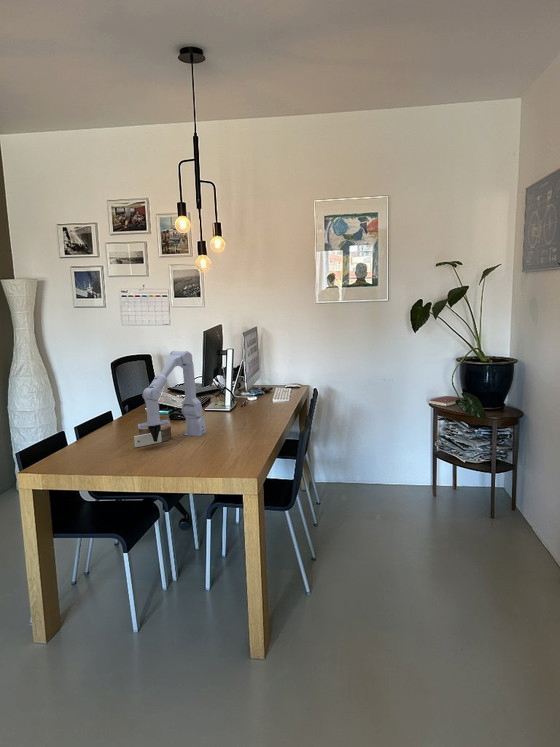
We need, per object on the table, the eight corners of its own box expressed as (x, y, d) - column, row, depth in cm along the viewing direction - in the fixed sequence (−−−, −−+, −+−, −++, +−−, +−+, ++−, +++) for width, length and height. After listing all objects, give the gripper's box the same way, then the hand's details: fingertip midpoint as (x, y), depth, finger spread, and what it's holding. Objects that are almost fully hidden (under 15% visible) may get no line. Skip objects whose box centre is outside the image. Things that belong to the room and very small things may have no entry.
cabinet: (172, 437, 261) (171, 426, 260) (164, 441, 255) (163, 429, 254) (147, 436, 266) (146, 424, 265) (139, 440, 260) (138, 428, 259)
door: (162, 441, 255) (162, 431, 254) (164, 442, 253) (163, 431, 252) (134, 447, 247) (134, 436, 246) (136, 447, 246) (135, 437, 245)
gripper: (166, 409, 250) (168, 436, 252) (135, 413, 244) (138, 441, 246) (170, 412, 244) (172, 440, 246) (138, 416, 238) (141, 445, 240)
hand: (155, 441), depth 246 cm, fingers closed
